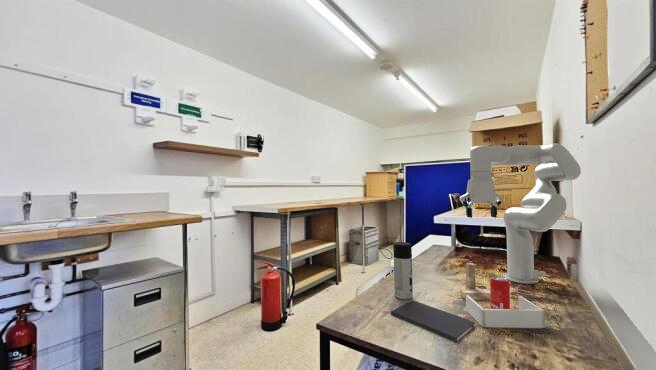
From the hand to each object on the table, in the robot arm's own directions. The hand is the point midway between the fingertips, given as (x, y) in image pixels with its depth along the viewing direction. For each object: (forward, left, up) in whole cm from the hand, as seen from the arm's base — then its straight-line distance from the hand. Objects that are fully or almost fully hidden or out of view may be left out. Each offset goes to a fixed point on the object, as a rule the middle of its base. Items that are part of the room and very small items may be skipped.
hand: (481, 217), depth 112 cm
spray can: (+35, +12, -28) cm, 47 cm away
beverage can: (+8, +27, -28) cm, 40 cm away
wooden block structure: (+8, +10, -28) cm, 31 cm away
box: (+8, +28, -28) cm, 41 cm away
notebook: (+30, +30, -29) cm, 51 cm away
